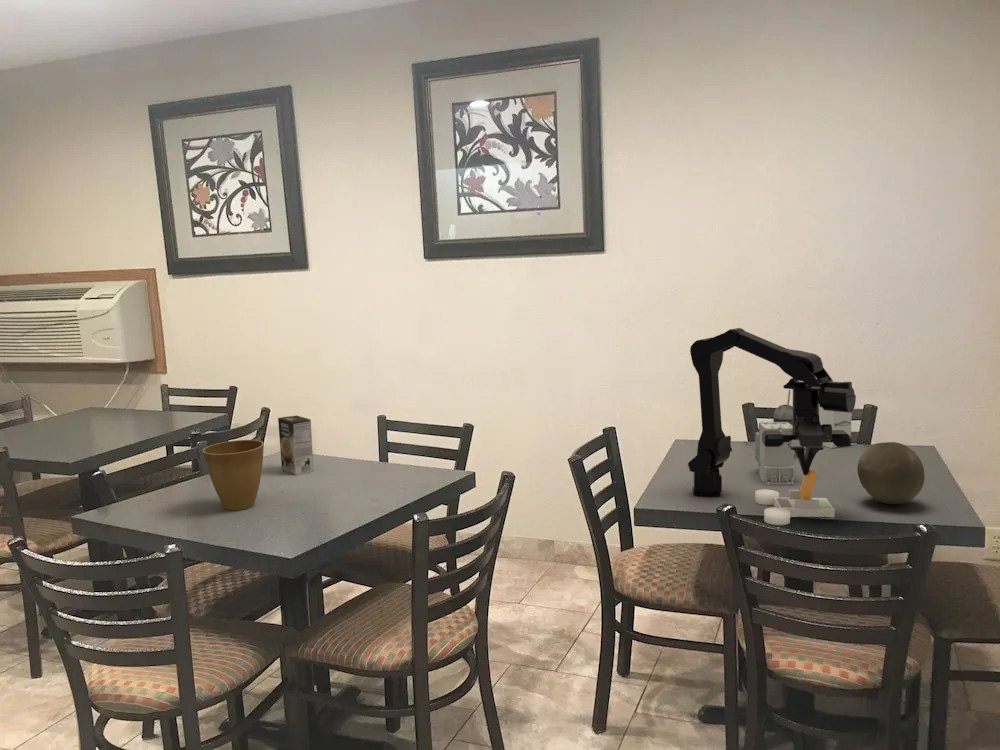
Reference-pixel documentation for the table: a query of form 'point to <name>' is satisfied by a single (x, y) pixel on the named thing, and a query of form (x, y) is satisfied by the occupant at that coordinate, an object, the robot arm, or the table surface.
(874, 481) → the cantaloupe
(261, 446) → the plant pot
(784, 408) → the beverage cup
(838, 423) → the supplement box
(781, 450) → the circuit breaker
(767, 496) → the cream dome knob
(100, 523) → the table surface
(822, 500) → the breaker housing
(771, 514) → the cream round disc
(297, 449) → the coffee box
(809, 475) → the long orange brick
